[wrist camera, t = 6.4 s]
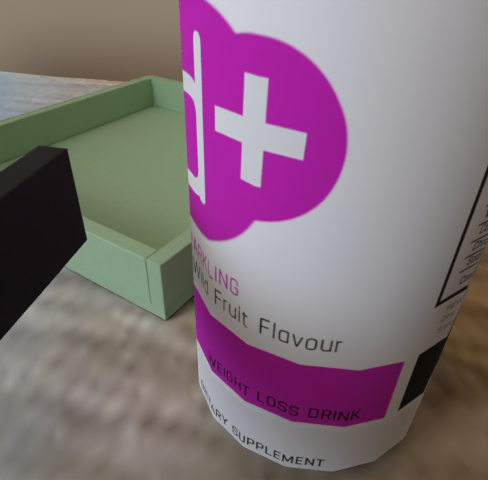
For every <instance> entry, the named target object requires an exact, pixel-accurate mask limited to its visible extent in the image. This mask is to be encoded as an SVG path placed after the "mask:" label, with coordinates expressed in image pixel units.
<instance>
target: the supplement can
mask: <svg viewBox="0 0 488 480" xmlns="http://www.w3.org/2000/svg"><path fill="white" fill-rule="evenodd" d="M179 11H180V31H181V50H182V69H183V88H184V107H185V126H186V145H187V164H188V183H189V202H190V221H191V239H192V258H193V277H194V296H195V315H196V334H197V353H198V372H199V385H200V387H201V389H202V392H203V394H204V396H205V399H206V401H207V403H208V406H209V408H210V410H211V413H212V415H213V417H214V418H215V419H216V420H217V421H218V422H219V423H220V424H221V425H222V426H223V427H224V428H225V429H226V430H227V431H228V432H229V433H230V434H231V435H232V436H233V437H234V438H235V439H236V440H237V441H238V442H239V443H240V444H241V445H242V446H243V447H245V448H247V449H249V450H251V451H254V452H256V453H258V454H260V455H262V456H264V457H266V458H268V459H270V460H272V461H274V462H277V463H279V464H281V465H283V466H285V467H294V468H302V469H311V470H320V471H329V472H333V471H337V470H341V469H345V468H349V467H353V466H357V465H361V464H365V463H369V462H373V461H375V460H377V459H378V458H379V457H381V456H382V455H383V454H384V453H386V452H387V451H388V450H389V449H391V448H392V447H393V446H395V445H396V444H397V443H398V442H400V441H401V440H402V439H403V438H405V436H406V434H407V431H408V429H409V427H410V425H411V423H412V420H413V418H414V416H415V414H416V412H417V409H418V407H419V405H420V403H421V400H422V398H423V395H424V393H425V391H426V388H427V386H428V384H429V381H430V379H431V376H432V374H433V372H434V369H435V367H436V364H437V362H438V360H439V357H440V355H441V353H442V350H443V348H444V345H445V343H446V341H447V338H448V336H449V333H450V331H451V329H452V326H453V324H454V322H455V319H456V317H457V314H458V312H459V310H460V307H461V305H462V303H463V300H464V298H465V295H466V293H467V291H468V288H469V286H470V283H471V281H472V279H473V276H474V274H475V272H476V269H477V267H478V264H479V262H480V260H481V257H482V255H483V252H484V250H485V248H486V245H487V243H488V0H179Z"/></svg>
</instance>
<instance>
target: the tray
mask: <svg viewBox="0 0 488 480" xmlns="http://www.w3.org/2000/svg"><path fill="white" fill-rule="evenodd" d="M39 145H40V146H49V147H58V148H67V149H68V154H69V158H70V163H71V168H72V172H73V177H74V181H75V186H76V190H77V195H78V200H79V204H80V209H81V213H82V218H83V222H84V227H85V232H86V236H87V241H86V242H85V243H84V244H83V245H82V247H81V248H80V249H79V250H78V251H77V252H76V254H75V255H74V256H73V257H72V258H71V259H70V260H69V262H68V263H67V264H66V265H65V267H67V268H69V269H70V270H72V271H74V272H76V273H78V274H80V275H82V276H84V277H85V278H87V279H89V280H91V281H93V282H95V283H97V284H98V285H100V286H102V287H104V288H106V289H108V290H110V291H112V292H113V293H115V294H117V295H119V296H121V297H123V298H125V299H126V300H128V301H130V302H132V303H134V304H136V305H138V306H140V307H141V308H143V309H145V310H147V311H149V312H151V313H153V314H155V315H156V316H158V317H160V318H162V319H164V320H167V319H168V318H169V317H170V316H171V315H173V314H174V313H175V312H176V311H177V310H178V309H179V308H180V307H181V306H183V305H184V304H185V303H186V302H187V301H188V300H189V299H190V298H191V297H193V296H194V277H193V258H192V239H191V221H190V202H189V183H188V164H187V145H186V126H185V107H184V88H183V82H179V81H175V80H170V79H166V78H162V77H157V76H152V75H148V76H145V77H142V78H138V79H135V80H132V81H129V82H125V83H122V84H119V85H116V86H112V87H109V88H106V89H103V90H99V91H96V92H93V93H90V94H86V95H83V96H80V97H77V98H73V99H70V100H67V101H64V102H60V103H57V104H54V105H51V106H47V107H44V108H41V109H38V110H34V111H31V112H28V113H25V114H21V115H18V116H15V117H12V118H8V119H5V120H2V121H0V172H1V171H2V170H3V169H5V168H6V167H8V166H9V165H11V164H12V163H14V162H15V161H17V160H18V159H20V158H21V157H23V156H24V155H26V154H27V153H29V152H30V151H32V150H33V149H35V148H36V147H38V146H39Z"/></svg>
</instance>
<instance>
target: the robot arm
mask: <svg viewBox="0 0 488 480" xmlns="http://www.w3.org/2000/svg"><path fill="white" fill-rule="evenodd" d="M86 241H87V236H86V232H85V227H84V222H83V218H82V213H81V209H80V204H79V200H78V195H77V190H76V186H75V181H74V177H73V172H72V168H71V163H70V158H69V154H68V149H67V148H58V147H49V146H40V145H39V146H38V147H36V148H35V149H33V150H32V151H30V152H29V153H27V154H26V155H24V156H23V157H21V158H20V159H18V160H17V161H15V162H14V163H12V164H11V165H9V166H8V167H6V168H5V169H3V170H2V171H1V172H0V340H1V339H2V338H3V336H4V335H5V334H6V333H7V332H8V331H9V330H10V328H11V327H12V326H13V325H14V324H15V323H16V321H17V320H18V319H19V318H20V317H21V316H22V315H23V313H24V312H25V311H26V310H27V309H28V308H29V306H30V305H31V304H32V303H33V302H34V301H35V300H36V298H37V297H38V296H39V295H40V294H41V293H42V292H43V290H44V289H45V288H46V287H47V286H48V285H49V283H50V282H51V281H52V280H53V279H54V278H55V277H56V275H57V274H58V273H59V272H60V271H61V270H62V268H63V267H64V266H65V265H66V264H67V263H68V262H69V260H70V259H71V258H72V257H73V256H74V255H75V254H76V252H77V251H78V250H79V249H80V248H81V247H82V245H83V244H84V243H85V242H86Z"/></svg>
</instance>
